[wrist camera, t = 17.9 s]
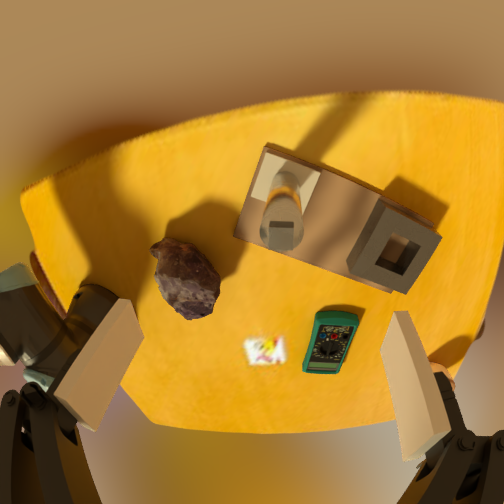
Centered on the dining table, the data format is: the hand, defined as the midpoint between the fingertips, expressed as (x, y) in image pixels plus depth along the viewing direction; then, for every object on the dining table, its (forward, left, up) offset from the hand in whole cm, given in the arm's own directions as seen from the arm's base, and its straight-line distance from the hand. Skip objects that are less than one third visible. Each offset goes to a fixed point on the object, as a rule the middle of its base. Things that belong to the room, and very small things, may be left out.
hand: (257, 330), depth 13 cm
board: (+9, -2, -25) cm, 27 cm away
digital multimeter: (+18, -23, -26) cm, 39 cm away
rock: (-8, -15, -25) cm, 31 cm away
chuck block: (+17, -1, -25) cm, 30 cm away
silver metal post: (0, +1, -24) cm, 24 cm away
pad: (0, +1, -25) cm, 25 cm away
